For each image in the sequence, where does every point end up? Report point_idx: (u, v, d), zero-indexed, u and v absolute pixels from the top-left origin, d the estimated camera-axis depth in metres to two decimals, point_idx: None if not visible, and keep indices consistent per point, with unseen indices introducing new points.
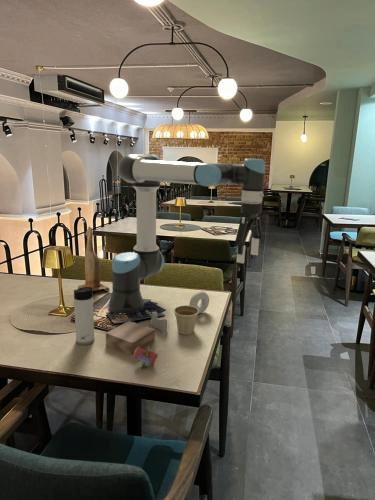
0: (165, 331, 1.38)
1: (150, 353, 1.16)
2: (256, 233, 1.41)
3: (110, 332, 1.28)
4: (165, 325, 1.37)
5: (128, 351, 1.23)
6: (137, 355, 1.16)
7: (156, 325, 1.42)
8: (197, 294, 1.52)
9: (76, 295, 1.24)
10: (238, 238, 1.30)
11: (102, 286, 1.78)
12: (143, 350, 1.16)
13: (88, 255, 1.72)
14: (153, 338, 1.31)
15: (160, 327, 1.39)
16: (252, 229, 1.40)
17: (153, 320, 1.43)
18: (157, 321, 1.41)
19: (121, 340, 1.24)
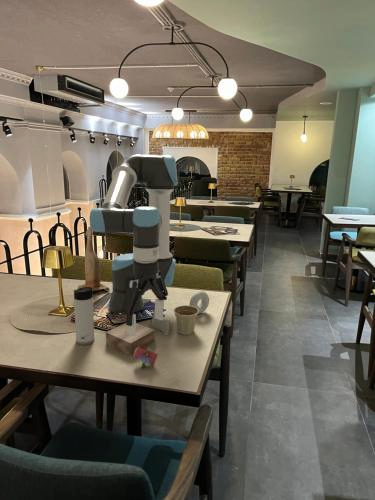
0: (166, 332, 1.37)
1: (150, 353, 1.16)
2: (158, 294, 1.16)
3: (110, 331, 1.28)
4: (166, 326, 1.37)
5: (126, 351, 1.23)
6: (137, 355, 1.16)
7: (157, 326, 1.41)
8: (197, 294, 1.52)
9: (76, 295, 1.24)
10: (124, 306, 1.04)
11: (102, 286, 1.78)
12: (143, 350, 1.16)
13: (88, 255, 1.72)
14: (153, 339, 1.31)
15: (161, 328, 1.39)
16: (152, 290, 1.15)
17: (154, 321, 1.42)
18: (158, 322, 1.40)
19: (120, 340, 1.24)
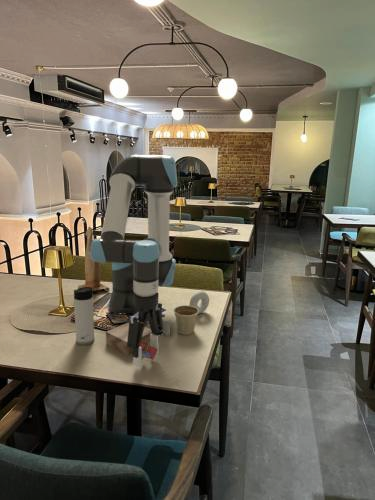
0: (167, 333, 1.37)
1: (150, 348, 1.16)
2: (154, 328, 1.17)
3: (110, 331, 1.29)
4: (167, 327, 1.36)
5: (125, 351, 1.23)
6: None
7: None
8: (197, 294, 1.52)
9: (76, 295, 1.24)
10: (130, 341, 1.09)
11: (102, 286, 1.78)
12: (143, 345, 1.16)
13: (88, 255, 1.72)
14: None
15: None
16: (150, 322, 1.17)
17: None
18: None
19: (119, 340, 1.24)
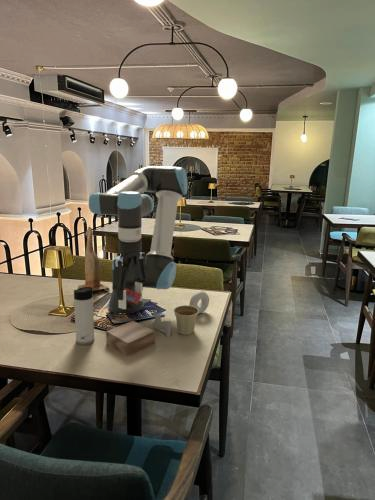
0: (168, 333, 1.36)
1: (134, 293, 1.26)
2: (138, 275, 1.27)
3: (110, 330, 1.29)
4: (168, 327, 1.36)
5: (124, 351, 1.23)
6: None
7: (159, 327, 1.40)
8: (197, 294, 1.52)
9: (76, 295, 1.24)
10: (115, 283, 1.18)
11: (102, 286, 1.78)
12: (128, 290, 1.25)
13: (88, 255, 1.72)
14: (153, 340, 1.30)
15: (163, 329, 1.38)
16: (134, 270, 1.26)
17: (156, 322, 1.41)
18: (160, 323, 1.39)
19: (118, 339, 1.24)
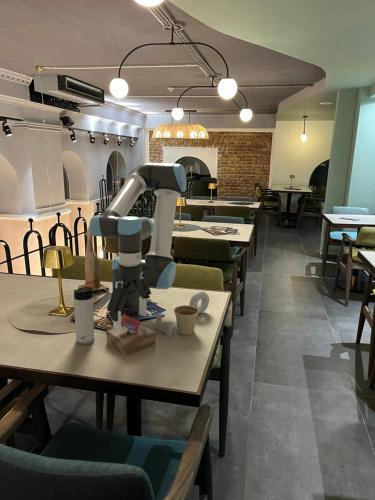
0: (170, 334, 1.36)
1: (134, 320, 1.28)
2: (142, 293, 1.30)
3: (111, 330, 1.29)
4: (170, 328, 1.35)
5: (123, 351, 1.23)
6: (123, 322, 1.28)
7: (160, 328, 1.39)
8: (197, 294, 1.52)
9: (76, 295, 1.24)
10: (110, 304, 1.18)
11: (102, 286, 1.78)
12: (128, 318, 1.28)
13: (88, 255, 1.72)
14: (153, 341, 1.30)
15: (165, 330, 1.37)
16: (136, 289, 1.29)
17: (157, 323, 1.41)
18: (162, 324, 1.38)
19: (118, 339, 1.24)
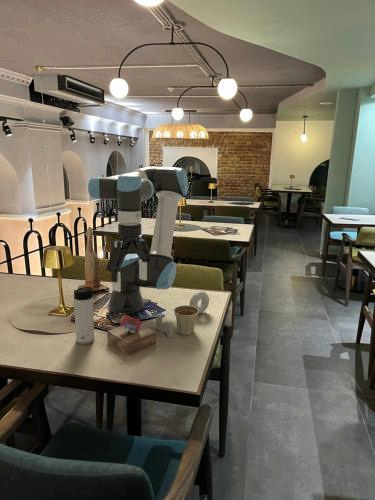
0: (170, 335, 1.35)
1: (135, 320, 1.28)
2: (142, 256, 1.27)
3: (112, 330, 1.29)
4: (170, 329, 1.35)
5: (124, 351, 1.23)
6: (123, 322, 1.28)
7: (161, 328, 1.39)
8: (197, 294, 1.52)
9: (76, 295, 1.24)
10: (110, 264, 1.15)
11: (102, 286, 1.78)
12: (129, 318, 1.28)
13: (88, 255, 1.72)
14: (154, 341, 1.30)
15: (165, 331, 1.37)
16: (136, 252, 1.26)
17: (158, 323, 1.40)
18: (162, 324, 1.38)
19: (119, 339, 1.25)
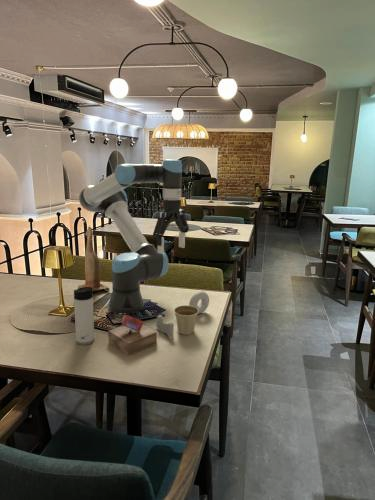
0: (171, 335, 1.35)
1: (137, 320, 1.28)
2: (181, 227, 1.55)
3: (112, 330, 1.29)
4: (171, 329, 1.34)
5: (125, 351, 1.23)
6: (125, 322, 1.28)
7: (162, 329, 1.39)
8: (197, 294, 1.52)
9: (76, 295, 1.24)
10: (156, 230, 1.44)
11: (102, 286, 1.78)
12: (130, 317, 1.28)
13: (88, 255, 1.72)
14: (155, 340, 1.30)
15: (166, 331, 1.36)
16: (177, 223, 1.54)
17: (159, 324, 1.40)
18: (163, 325, 1.37)
19: (120, 339, 1.25)
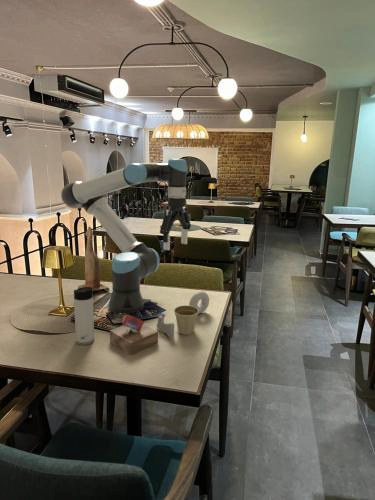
0: (172, 336, 1.35)
1: (137, 320, 1.28)
2: (184, 224, 1.61)
3: (114, 330, 1.30)
4: (172, 330, 1.34)
5: (126, 351, 1.24)
6: (125, 322, 1.29)
7: (162, 329, 1.38)
8: (197, 294, 1.52)
9: (76, 295, 1.24)
10: (162, 228, 1.49)
11: (102, 286, 1.78)
12: (131, 317, 1.28)
13: (88, 255, 1.72)
14: (156, 340, 1.30)
15: (167, 332, 1.36)
16: (180, 221, 1.60)
17: (159, 324, 1.40)
18: (164, 325, 1.37)
19: (121, 339, 1.25)
